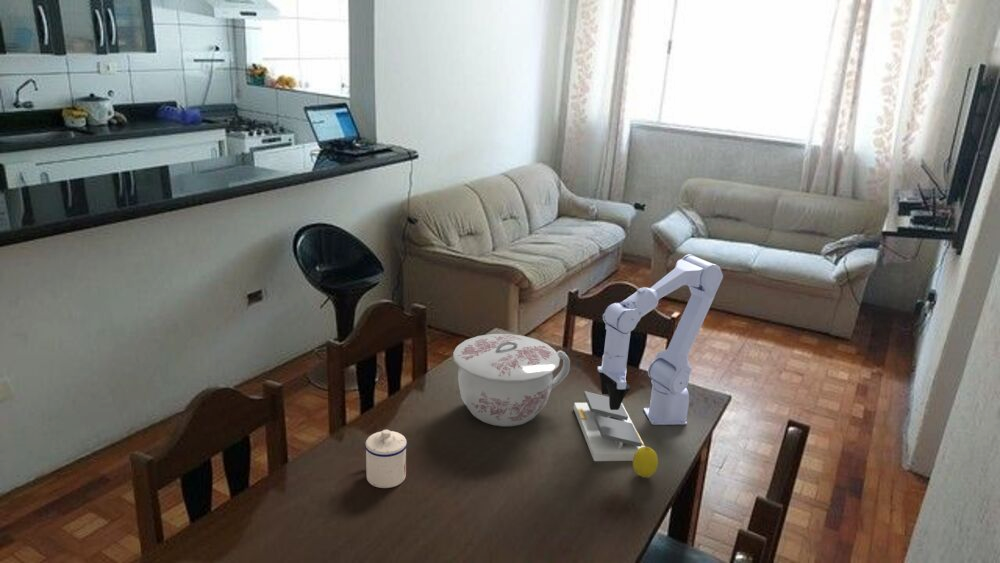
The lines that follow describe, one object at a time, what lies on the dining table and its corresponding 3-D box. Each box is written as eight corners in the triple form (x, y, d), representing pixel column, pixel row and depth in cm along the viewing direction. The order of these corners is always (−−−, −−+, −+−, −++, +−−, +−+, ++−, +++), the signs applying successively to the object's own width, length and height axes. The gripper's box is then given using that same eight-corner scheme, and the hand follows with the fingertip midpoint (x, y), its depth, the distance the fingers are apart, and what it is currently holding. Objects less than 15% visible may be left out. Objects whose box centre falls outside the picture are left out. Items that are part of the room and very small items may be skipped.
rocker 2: (628, 428, 175) (631, 422, 175) (639, 450, 166) (642, 444, 166) (592, 419, 173) (594, 413, 173) (601, 441, 164) (603, 435, 164)
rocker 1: (616, 404, 186) (618, 398, 186) (626, 423, 177) (628, 417, 177) (582, 395, 184) (584, 390, 184) (590, 414, 175) (592, 409, 175)
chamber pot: (432, 424, 176) (434, 350, 169) (476, 379, 200) (479, 312, 193) (537, 452, 167) (543, 375, 160) (570, 401, 191) (576, 332, 184)
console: (620, 408, 188) (622, 398, 187) (647, 460, 166) (649, 448, 165) (573, 409, 187) (574, 398, 186) (594, 461, 164) (595, 449, 163)
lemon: (655, 486, 156) (660, 455, 154) (630, 482, 157) (634, 451, 155) (655, 472, 162) (659, 442, 159) (631, 468, 163) (635, 438, 160)
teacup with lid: (414, 480, 154) (414, 435, 150) (377, 494, 149) (376, 447, 145) (389, 454, 163) (388, 410, 159) (352, 466, 158) (351, 421, 154)
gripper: (592, 339, 175) (587, 387, 180) (608, 365, 162) (602, 416, 166) (619, 339, 176) (614, 387, 181) (637, 365, 163) (630, 416, 167)
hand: (610, 401), depth 174 cm, fingers open, 7 cm apart
